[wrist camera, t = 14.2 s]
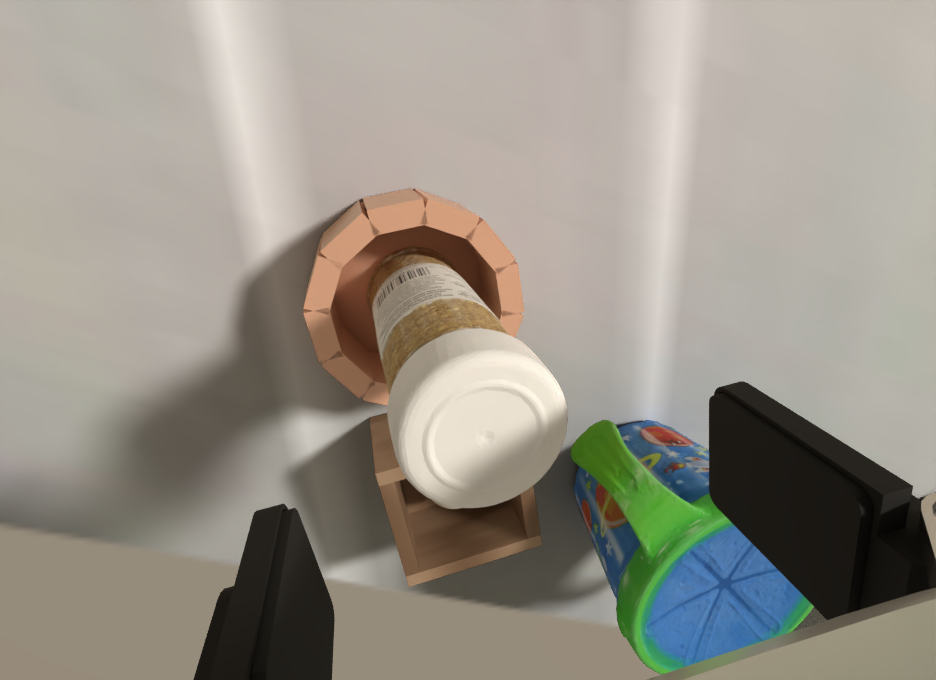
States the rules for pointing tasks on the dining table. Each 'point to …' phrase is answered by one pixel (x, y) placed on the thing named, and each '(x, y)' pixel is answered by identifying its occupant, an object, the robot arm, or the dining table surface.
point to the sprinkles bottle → (460, 386)
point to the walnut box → (447, 521)
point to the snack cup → (675, 549)
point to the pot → (365, 245)
